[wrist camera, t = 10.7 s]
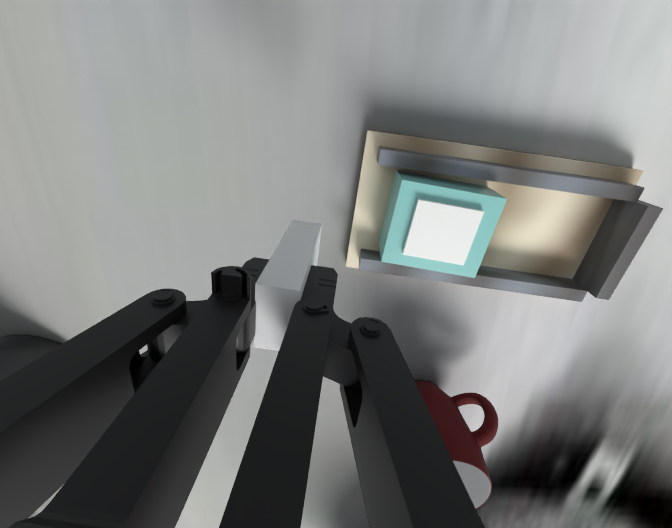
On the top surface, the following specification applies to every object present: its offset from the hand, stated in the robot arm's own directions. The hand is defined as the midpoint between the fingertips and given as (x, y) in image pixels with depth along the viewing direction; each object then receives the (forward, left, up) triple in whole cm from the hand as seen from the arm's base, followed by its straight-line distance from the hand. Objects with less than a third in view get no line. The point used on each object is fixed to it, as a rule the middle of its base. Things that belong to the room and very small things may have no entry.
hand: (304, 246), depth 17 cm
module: (+9, 0, -10) cm, 13 cm away
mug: (+14, -19, -11) cm, 26 cm away
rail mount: (+13, 0, -11) cm, 17 cm away
